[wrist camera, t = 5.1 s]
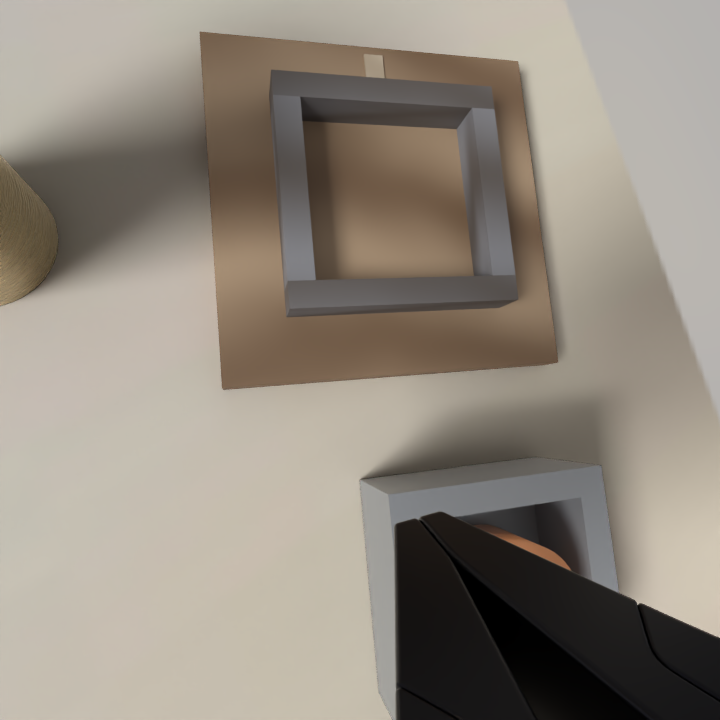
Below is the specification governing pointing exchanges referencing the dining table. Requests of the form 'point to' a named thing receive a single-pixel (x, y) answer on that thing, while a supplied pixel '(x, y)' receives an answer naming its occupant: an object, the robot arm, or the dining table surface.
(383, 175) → the brown board with frame
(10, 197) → the brass billet
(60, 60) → the dining table surface
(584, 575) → the button housing
